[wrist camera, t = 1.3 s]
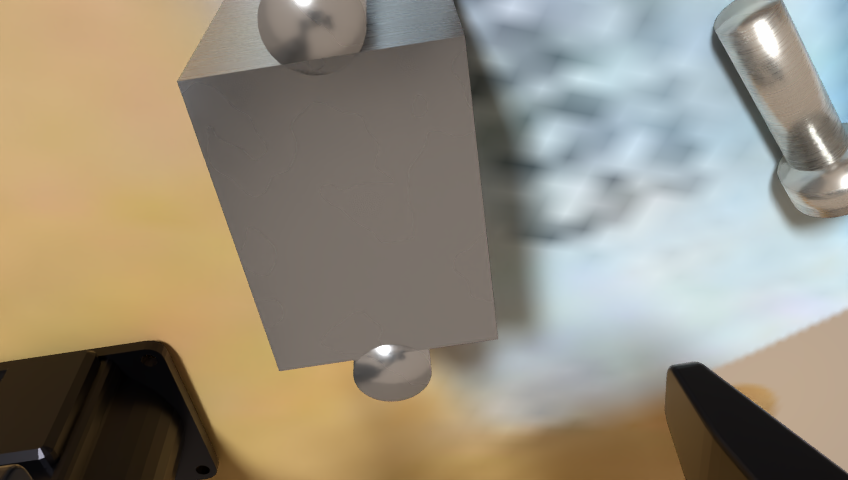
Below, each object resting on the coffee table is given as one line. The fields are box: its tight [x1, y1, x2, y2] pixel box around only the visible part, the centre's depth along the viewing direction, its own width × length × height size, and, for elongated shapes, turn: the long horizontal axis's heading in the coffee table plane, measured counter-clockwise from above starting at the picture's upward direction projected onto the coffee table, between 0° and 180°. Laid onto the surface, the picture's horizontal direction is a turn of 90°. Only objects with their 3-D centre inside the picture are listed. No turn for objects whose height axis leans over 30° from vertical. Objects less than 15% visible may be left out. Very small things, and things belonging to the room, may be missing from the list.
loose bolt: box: [714, 0, 848, 218], centre depth 19 cm, size 6×3×3 cm, turn 38°
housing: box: [177, 0, 498, 401], centre depth 17 cm, size 10×5×6 cm, turn 8°
